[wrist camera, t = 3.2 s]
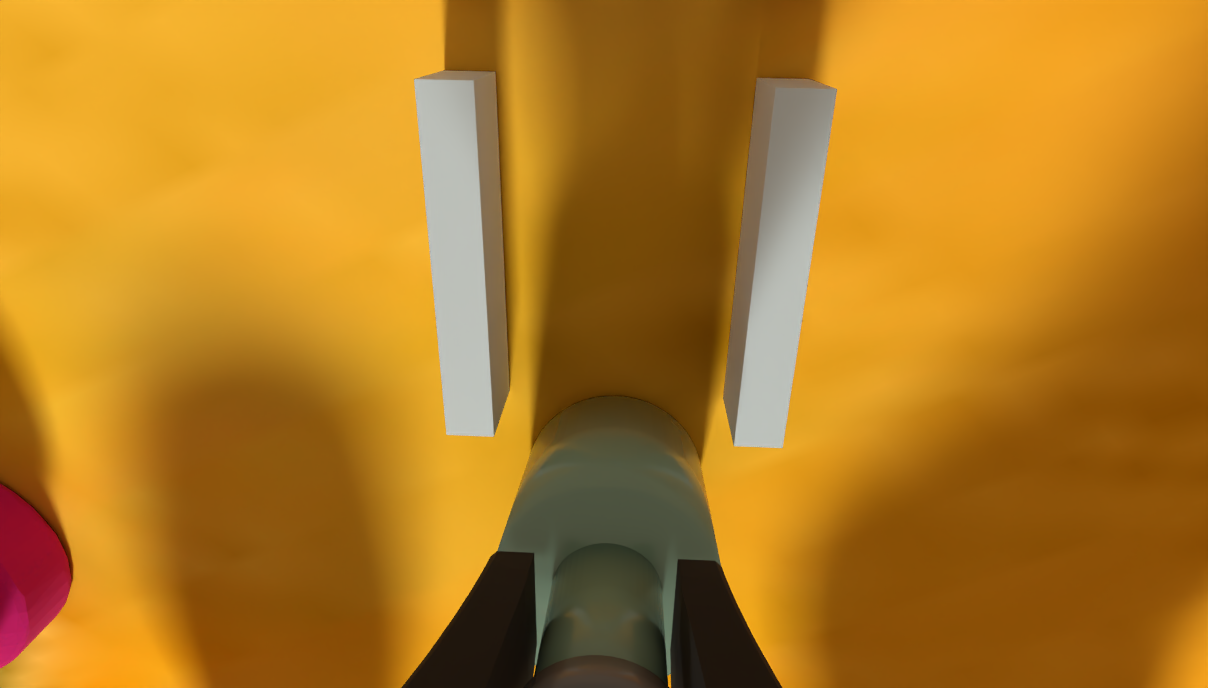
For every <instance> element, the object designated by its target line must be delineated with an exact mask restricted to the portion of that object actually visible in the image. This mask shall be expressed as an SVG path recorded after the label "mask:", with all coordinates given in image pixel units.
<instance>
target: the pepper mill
mask: <svg viewBox="0 0 1208 688" xmlns="http://www.w3.org/2000/svg"><path fill="white" fill-rule="evenodd" d="M70 586H71V575H70V569H69V562H68V557H67V555H66V553H65V551H64V549H63V547H62V545H61V543H60V541H59V539H58V537H57V535H56V534H55V532H54V531H53V530H52V529H51V527H50V526H49V525H48V524H47V522H46V521H45V520H44V519H43V518H42V517H41V516H40V515H39V514H38V513H37V511H36V510H35V509H34V508H33V507H32V506H30V505H29V504H28V503H27V502H26V501H24V500H23V499H22V498H21V497H19V496H18V495H17V494H16V493H15V492H13V491H12V490H10V489H8V488H7V487H5V486H3V485H2V484H0V668H2V667H3V666H5V665H7V664H8V663H10V662H11V661H13V660H14V659H15V658H16V657H17V656H18V655H19V654H20V653H21V652H22V651H23V650H24V649H25V648H26V647H27V646H28V645H29V644H30V643H31V642H32V641H33V640H34V639H35V638H36V636H37V635H38V634H39V633H40V632H41V631H42V630H43V629H44V628H45V627H46V626H47V625H48V624H49V623H50V622H51V621H52V620H53V619H54V618H55V617H56V616H57V614H58V613H59V612H60V610H61V609H62V607H63V606H64V605H65V603H66V600H67V597H68V594H69V591H70Z"/></svg>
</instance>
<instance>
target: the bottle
mask: <svg viewBox="0 0 1208 688" xmlns="http://www.w3.org/2000/svg"><path fill="white" fill-rule="evenodd" d="M498 551H507V552H529V553H534V563H535V594H536V626H537V648H536V657H535V665H536V669H535V674H534V677H533V678H531V679H530V680H529V681H528V683H527V684H526V685H525V686H524V687H523V688H669V687H668V678H667V675H669V674H671V659H670V647H671V635H672V623H673V610H674V598H675V586H676V574H677V561H678V559H689V560H712V561H716V562H717V563H718V564H719V565H720V566H721V564H720V559H719V554H718V549H717V544H716V539H715V534H714V529H713V524H712V519H711V514H710V509H709V504H708V499H707V494H706V490H705V485H704V480H703V475H702V470H701V465H700V460H699V457H698V453H697V450H696V448H695V446H694V444H693V441H692V440H691V438H690V437H689V435H688V433H687V432H686V431H685V429H684V428H683V427H682V426H681V425H680V424H679V423H678V422H677V421H676V420H675V419H674V418H673V417H672V416H671V415H669V414H668V413H666V412H665V411H663V410H662V409H660V408H658V407H656V406H654V405H652V404H650V403H648V402H645V401H642V400H639V399H634V398H630V397H622V396H603V397H596V398H591V399H588V400H584V401H581V402H579V403H576V404H574V405H572V406H570V407H568V408H566V409H565V410H563V411H561V412H560V413H559V414H558V415H556V416H555V417H554V418H553V419H552V420H551V421H550V422H549V423H548V424H547V425H546V426H545V427H544V428H543V430H542V431H541V433H540V434H539V436H538V437H537V439H536V441H535V443H534V445H533V448H532V451H531V453H530V456H529V459H528V462H527V465H526V468H525V471H524V474H523V477H522V480H521V483H520V486H519V489H518V492H517V495H516V498H515V501H514V503H513V506H512V509H511V512H510V515H509V518H508V521H507V524H506V527H505V530H504V533H503V536H502V539H501V542H500V545H499V548H498Z"/></svg>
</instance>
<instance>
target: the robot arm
mask: <svg viewBox="0 0 1208 688" xmlns="http://www.w3.org/2000/svg"><path fill="white" fill-rule="evenodd" d="M536 648H537V626H536V594H535V563H534V553H529V552H507V551H497V552H496V553H494V554H493V555H492V556H491V557H490V559H489V561H488V562H487V564H486V566H485V568H484V570H483V571H482V573H481V575H480V577H479V578H478V580H477V582H476V583H475V585H474V587H473V588H472V590H471V591H470V593H469V595H468V596H467V598H466V599H465V601H464V602H463V604H462V605H461V607H460V609H459V610H458V612H457V613H456V615H455V616H454V618H453V619H452V620H451V622H450V623H449V625H448V626H447V628H446V629H445V630H444V632H443V633H442V635H441V636H440V637H439V639H438V640H437V642H436V643H435V645H434V646H433V647H432V649H431V650H430V652H429V653H428V654H427V656H426V657H425V658H424V660H423V661H422V662H421V664H420V665H419V666H418V667H417V669H416V670H415V671H414V673H413V674H412V675H411V676H410V678H409V679H408V680H407V681H406V683H405V684H404V685H403V686H402V688H523V687H524V686H525V685H526V684H527V683H528V681H529V680H530V679H531V678H533V673H534V665H535V657H536ZM670 659H671V688H782V686H781V685H780V683H779V681H778V680H777V678H776V676H775V674H774V673H773V671H772V669H771V667H770V666H769V664H768V662H767V660H766V659H765V657H764V655H763V653H762V652H761V650H760V648H759V646H758V644H757V643H756V641H755V639H754V637H753V635H752V633H751V631H750V629H749V627H748V625H747V623H746V621H745V619H744V617H743V615H742V613H741V611H740V609H739V607H738V605H737V603H736V601H735V599H734V596H733V594H732V592H731V590H730V587H729V585H728V582H727V580H726V578H725V575H724V572H723V570H722V567H721V566H720V565H719V564H718V563H717V562H716V561H712V560H689V559H678V561H677V574H676V586H675V598H674V610H673V623H672V635H671V647H670Z"/></svg>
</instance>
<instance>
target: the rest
mask: <svg viewBox="0 0 1208 688" xmlns="http://www.w3.org/2000/svg"><path fill="white" fill-rule="evenodd" d="M414 83H415V94H416V105H417V116H418V127H419V138H420V149H421V160H422V171H423V182H424V193H425V204H426V215H427V226H428V237H429V248H430V259H431V270H432V281H433V291H434V302H435V313H436V324H437V335H438V346H439V357H440V368H441V379H442V390H443V401H444V412H445V423H446V434H447V435H466V436H491V437H494V435H495V432H496V429H497V426H498V423H499V420H500V417H501V414H502V411H503V408H504V405H505V402H506V400H507V397H508V394H509V391H510V387H509V364H508V342H507V319H506V297H505V274H504V252H503V229H502V206H501V184H500V161H499V139H498V116H497V94H496V72H491V71H449V70H444V71H440V72H437V73H433V74H430V75H427V76H423V77H420V78H416V79H414ZM836 92H837V89H835V88H832V87H830V86H827V85H825V84H822V83H819V82H817V81H814V80H811V79H791V78H757V81H756V90H755V100H754V109H753V119H752V128H751V138H750V147H749V157H748V166H747V176H746V186H745V195H744V205H743V214H742V224H741V233H740V243H739V252H738V262H737V271H736V281H735V290H734V300H733V309H732V319H731V328H730V338H729V347H728V357H727V367H726V376H725V386H724V395H723V400H724V404H725V408H726V413H727V417H728V422H729V426H730V431H731V435H732V440H733V444H734V446H745V447H771V448H783V442H784V435H785V428H786V422H787V415H788V409H789V402H790V395H791V389H792V382H793V376H794V369H795V362H796V356H797V349H798V343H799V336H800V330H801V323H802V316H803V310H804V303H805V297H806V290H807V283H808V277H809V270H810V264H811V257H812V251H813V244H814V237H815V231H816V224H817V218H818V211H819V204H820V198H821V191H822V185H823V178H824V171H825V165H826V158H827V152H828V145H829V139H830V132H831V125H832V119H833V112H834V106H835V99H836Z"/></svg>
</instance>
